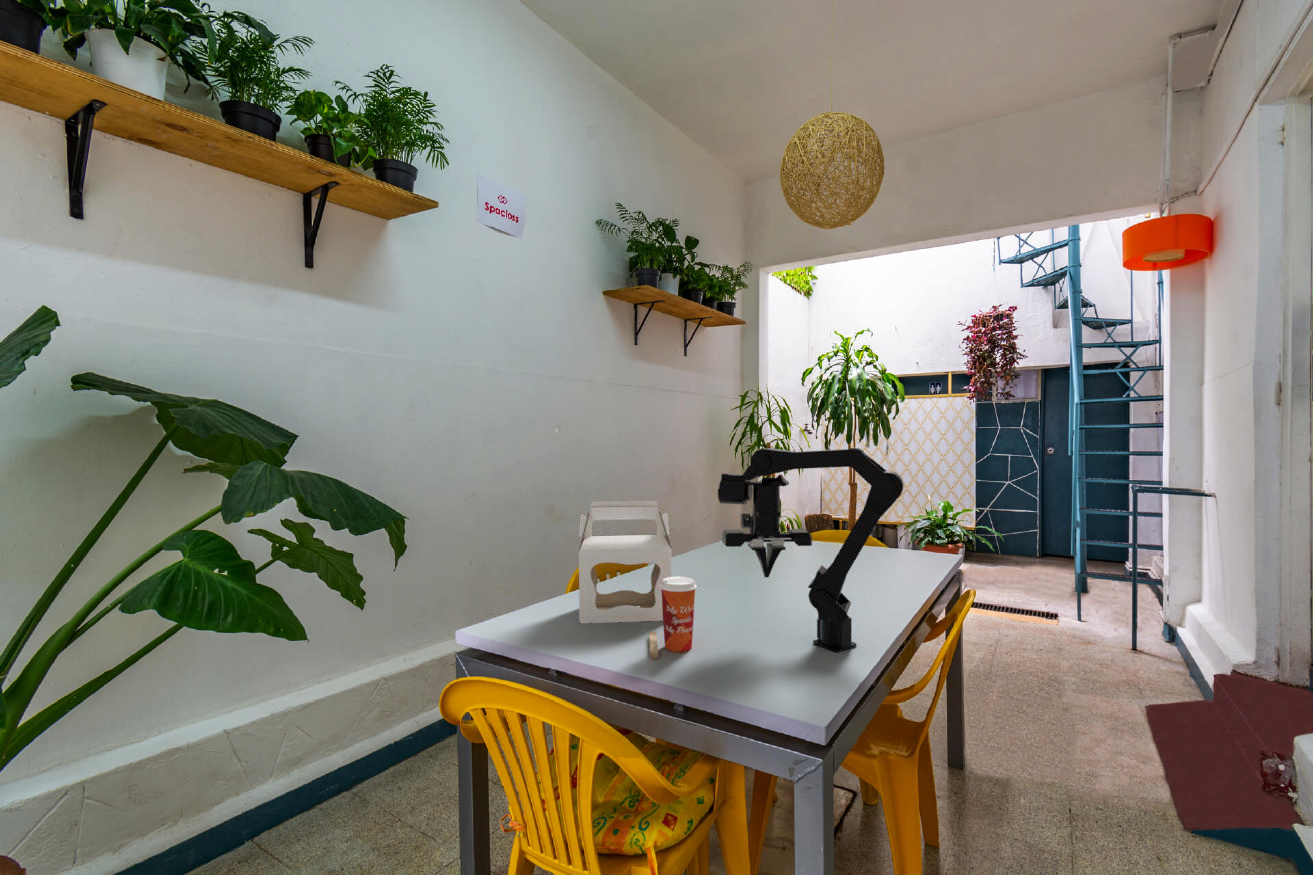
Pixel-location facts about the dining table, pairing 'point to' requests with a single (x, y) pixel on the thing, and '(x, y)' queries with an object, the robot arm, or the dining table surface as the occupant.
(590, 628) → the dining table surface
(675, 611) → the paper cup
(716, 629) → the dining table surface
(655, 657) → the oak strip
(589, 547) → the gable box
